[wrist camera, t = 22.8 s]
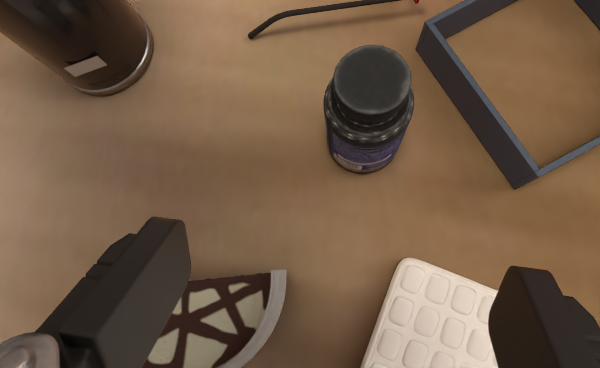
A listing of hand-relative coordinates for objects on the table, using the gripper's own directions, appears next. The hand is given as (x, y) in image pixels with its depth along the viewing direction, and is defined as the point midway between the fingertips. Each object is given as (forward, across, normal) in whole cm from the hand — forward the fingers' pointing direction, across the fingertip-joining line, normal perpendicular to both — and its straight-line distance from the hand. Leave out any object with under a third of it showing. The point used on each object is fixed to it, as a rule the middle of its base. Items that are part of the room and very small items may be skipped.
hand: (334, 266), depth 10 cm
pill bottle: (+24, -1, +8) cm, 26 cm away
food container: (+13, +8, +20) cm, 25 cm away
